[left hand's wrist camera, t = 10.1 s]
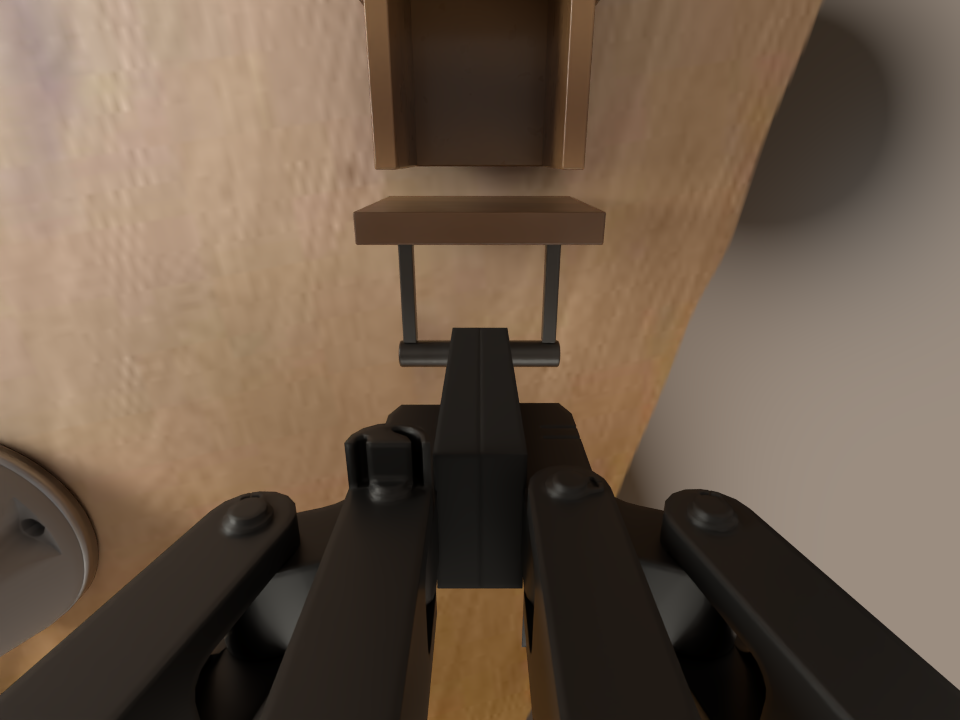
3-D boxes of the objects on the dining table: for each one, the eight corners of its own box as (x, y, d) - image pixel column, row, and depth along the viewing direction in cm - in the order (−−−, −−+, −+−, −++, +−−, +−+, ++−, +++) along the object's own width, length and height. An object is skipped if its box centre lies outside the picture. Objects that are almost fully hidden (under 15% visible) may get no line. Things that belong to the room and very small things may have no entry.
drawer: (562, 330, 29) (591, 390, 22) (396, 330, 29) (367, 390, 22) (601, -324, 20) (676, -618, 12) (357, -324, 20) (282, -619, 12)
